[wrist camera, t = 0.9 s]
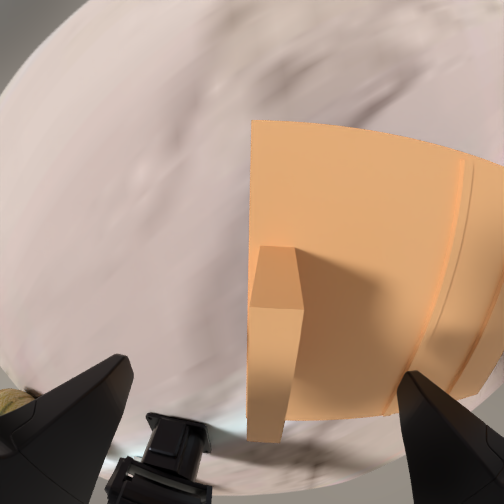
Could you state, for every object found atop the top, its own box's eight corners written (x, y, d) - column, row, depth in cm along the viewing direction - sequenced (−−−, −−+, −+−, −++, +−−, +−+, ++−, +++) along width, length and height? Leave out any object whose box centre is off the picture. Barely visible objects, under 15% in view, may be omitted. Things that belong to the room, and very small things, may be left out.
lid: (470, 381, 13) (497, 432, 8) (248, 400, 15) (237, 477, 10) (538, 184, 8) (600, 209, 3) (254, 124, 9) (231, 97, 4)
